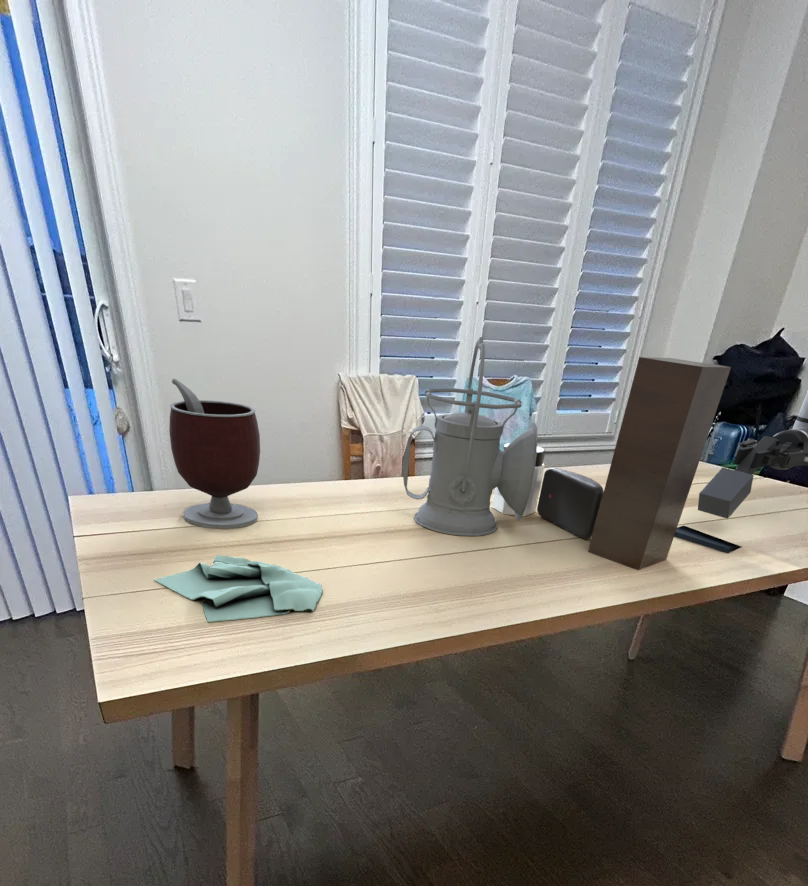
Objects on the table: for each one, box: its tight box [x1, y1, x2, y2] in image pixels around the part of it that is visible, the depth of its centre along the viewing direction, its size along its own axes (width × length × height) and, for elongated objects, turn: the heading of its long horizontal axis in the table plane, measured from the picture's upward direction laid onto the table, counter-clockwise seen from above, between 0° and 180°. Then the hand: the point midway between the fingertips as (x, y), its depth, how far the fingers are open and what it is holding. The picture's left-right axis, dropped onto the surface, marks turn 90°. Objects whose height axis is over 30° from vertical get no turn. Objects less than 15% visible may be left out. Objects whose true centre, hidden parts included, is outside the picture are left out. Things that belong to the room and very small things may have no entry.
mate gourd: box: [169, 378, 261, 530], centre depth 103 cm, size 16×14×20 cm
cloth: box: [153, 554, 324, 623], centre depth 85 cm, size 20×22×2 cm
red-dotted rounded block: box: [536, 467, 604, 540], centre depth 120 cm, size 16×5×9 cm, turn 26°
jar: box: [491, 442, 546, 518], centre depth 126 cm, size 9×8×12 cm
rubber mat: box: [674, 524, 742, 555], centre depth 126 cm, size 16×12×1 cm
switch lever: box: [697, 435, 777, 520], centre depth 121 cm, size 20×6×4 cm, turn 134°
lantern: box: [402, 336, 538, 537], centre depth 110 cm, size 21×22×30 cm
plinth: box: [587, 356, 732, 571], centre depth 103 cm, size 10×10×30 cm
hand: (746, 458), depth 119 cm, fingers closed on switch lever, 2 cm apart
